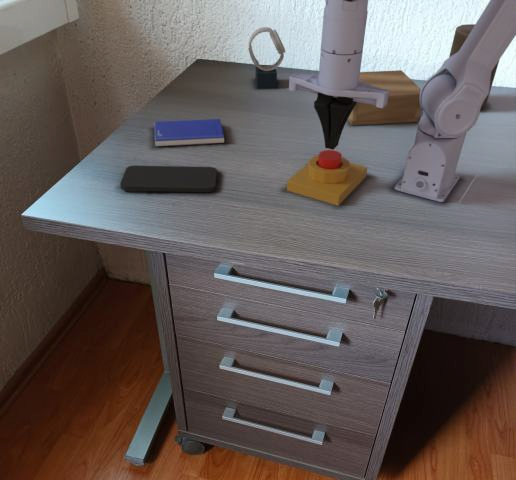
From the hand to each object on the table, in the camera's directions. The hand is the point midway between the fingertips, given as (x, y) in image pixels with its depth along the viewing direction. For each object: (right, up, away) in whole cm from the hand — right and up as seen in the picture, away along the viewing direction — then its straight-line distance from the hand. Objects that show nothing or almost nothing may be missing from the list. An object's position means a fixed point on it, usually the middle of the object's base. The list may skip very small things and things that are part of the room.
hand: (331, 146), depth 81 cm
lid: (+13, +20, +23) cm, 33 cm away
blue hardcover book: (-24, +8, +17) cm, 31 cm away
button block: (0, -4, +4) cm, 6 cm away
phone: (-26, -4, +4) cm, 26 cm away
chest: (+13, +17, +26) cm, 34 cm away
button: (0, -2, +2) cm, 3 cm away
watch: (-10, +28, +37) cm, 48 cm away
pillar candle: (+32, +20, +30) cm, 48 cm away
